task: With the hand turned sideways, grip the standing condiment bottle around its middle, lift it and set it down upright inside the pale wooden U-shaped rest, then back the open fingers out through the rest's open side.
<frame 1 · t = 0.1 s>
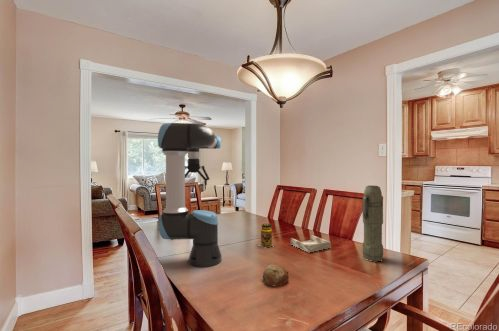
hand: (193, 190, 170), 28 cm above the table, tool pointing down, fingers open, 13 cm apart
bread roll: (275, 281, 102), on the table
u rest: (310, 246, 142), on the table
thermos: (372, 259, 124), on the table
condiment: (265, 245, 145), on the table
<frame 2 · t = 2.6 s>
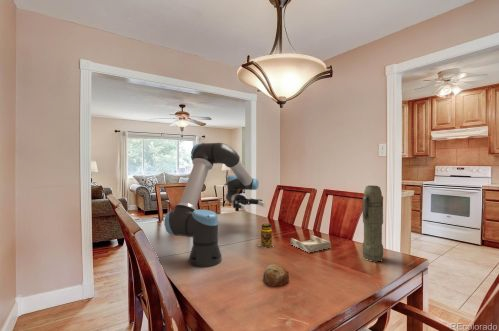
hand: (254, 206, 153), 20 cm above the table, tool horizontal, fingers open, 13 cm apart
nothing on the table moved.
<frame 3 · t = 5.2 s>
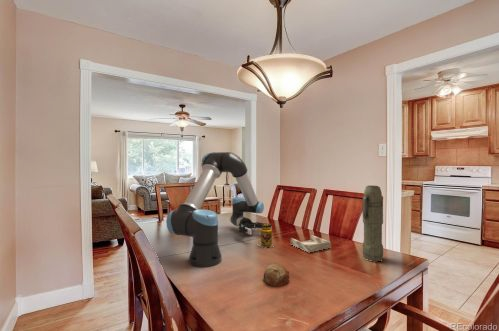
hand: (261, 230, 150), 7 cm above the table, tool horizontal, fingers open, 13 cm apart
nothing on the table moved.
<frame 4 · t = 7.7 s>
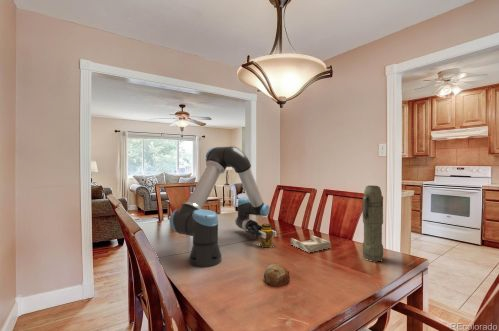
hand: (270, 235, 140), 7 cm above the table, tool horizontal, fingers closed on condiment, 6 cm apart
condiment: (265, 245, 145), on the table, touching gripper
everything else where it was.
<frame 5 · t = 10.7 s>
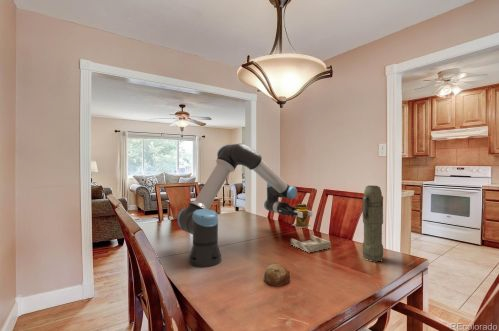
hand: (307, 214, 139), 18 cm above the table, tool horizontal, fingers closed on condiment, 6 cm apart
condiment: (300, 226, 144), point 11 cm above the table, touching gripper
everything else where it was.
when the fingers open (9 cm above the table, at t = 13.7 s): condiment drops 1 cm, resting on u rest.
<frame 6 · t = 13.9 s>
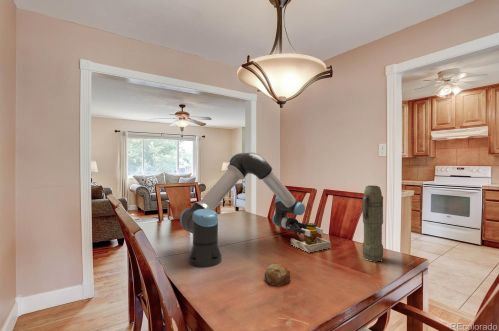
hand: (316, 232, 138), 9 cm above the table, tool horizontal, fingers open, 8 cm apart
condiment: (310, 245, 142), point 1 cm above the table, touching u rest
everything else where it was.
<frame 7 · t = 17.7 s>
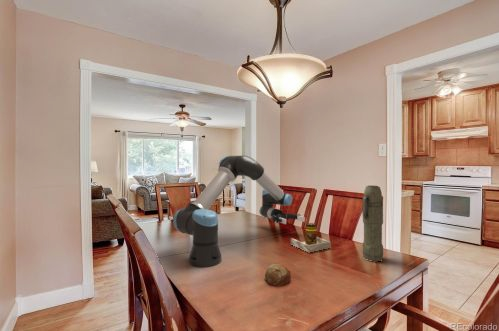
hand: (295, 220, 151), 12 cm above the table, tool horizontal, fingers open, 13 cm apart
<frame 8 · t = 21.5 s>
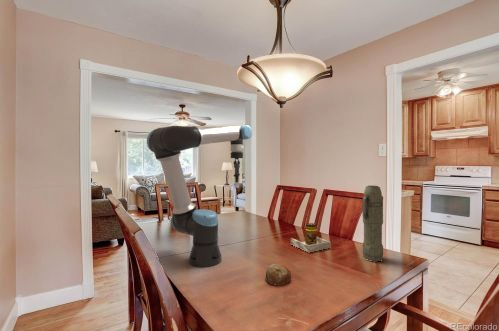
hand: (236, 186, 157), 32 cm above the table, tool pointing down, fingers open, 13 cm apart
at the end: condiment inside the target area on the u rest (0.1 cm from its centre), point 0.6 cm above the u rest's base; condiment tilted 0°; the gripper is holding nothing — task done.
